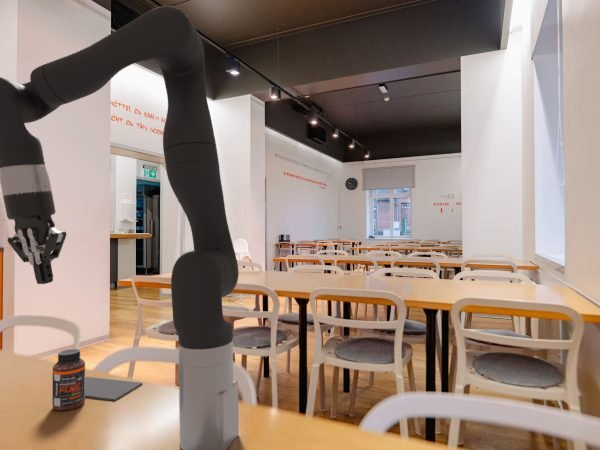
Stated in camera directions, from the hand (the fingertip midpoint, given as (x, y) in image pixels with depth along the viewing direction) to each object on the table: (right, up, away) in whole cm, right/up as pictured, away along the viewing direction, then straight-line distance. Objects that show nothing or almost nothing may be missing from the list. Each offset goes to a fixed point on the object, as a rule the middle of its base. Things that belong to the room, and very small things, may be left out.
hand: (45, 282), depth 74 cm
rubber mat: (+2, -27, +17) cm, 32 cm away
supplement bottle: (0, -27, +8) cm, 28 cm away
